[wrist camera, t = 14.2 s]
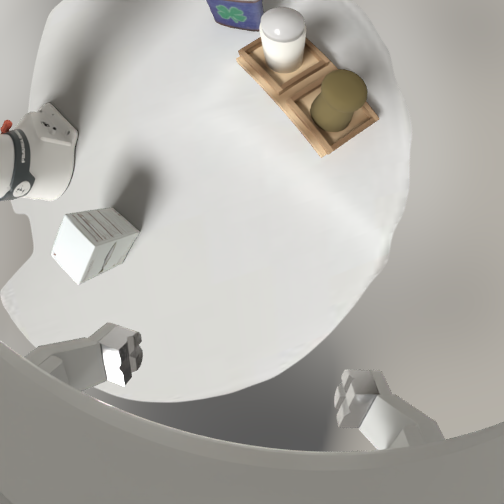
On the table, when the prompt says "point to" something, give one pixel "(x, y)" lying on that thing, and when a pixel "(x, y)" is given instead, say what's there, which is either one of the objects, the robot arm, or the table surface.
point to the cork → (338, 100)
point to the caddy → (303, 94)
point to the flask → (237, 13)
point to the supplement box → (92, 242)
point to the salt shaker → (283, 39)
